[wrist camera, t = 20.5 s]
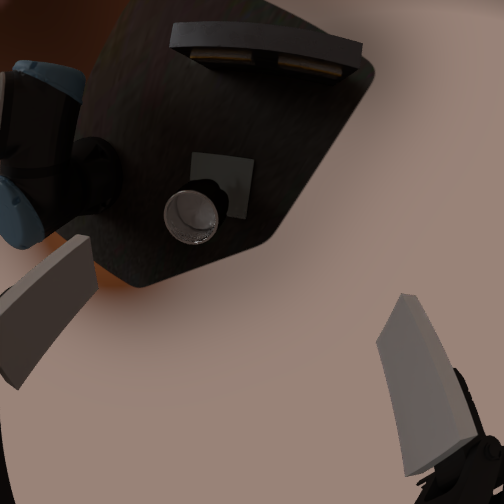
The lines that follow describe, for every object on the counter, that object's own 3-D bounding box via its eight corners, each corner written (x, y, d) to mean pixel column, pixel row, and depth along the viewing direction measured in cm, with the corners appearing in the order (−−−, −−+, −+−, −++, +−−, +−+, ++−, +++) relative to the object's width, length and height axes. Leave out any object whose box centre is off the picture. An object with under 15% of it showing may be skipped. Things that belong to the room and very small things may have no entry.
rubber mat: (189, 209, 47) (188, 210, 46) (193, 152, 42) (192, 152, 41) (246, 218, 46) (245, 219, 46) (254, 159, 41) (254, 160, 41)
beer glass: (197, 166, 42) (157, 190, 29) (239, 163, 42) (216, 186, 28) (201, 206, 46) (167, 246, 32) (242, 205, 45) (223, 246, 31)
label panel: (208, 72, 35) (168, 51, 21) (214, 39, 33) (177, 4, 19) (332, 89, 35) (358, 73, 21) (337, 55, 32) (364, 23, 18)
